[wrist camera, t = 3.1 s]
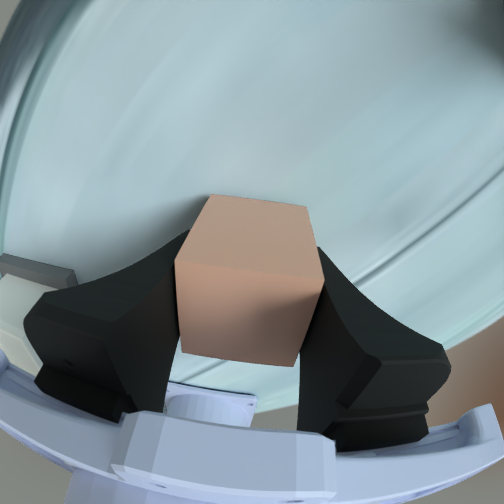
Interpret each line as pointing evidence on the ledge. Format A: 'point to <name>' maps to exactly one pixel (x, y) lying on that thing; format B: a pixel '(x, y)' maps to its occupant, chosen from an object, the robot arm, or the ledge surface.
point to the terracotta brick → (248, 281)
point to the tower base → (37, 271)
